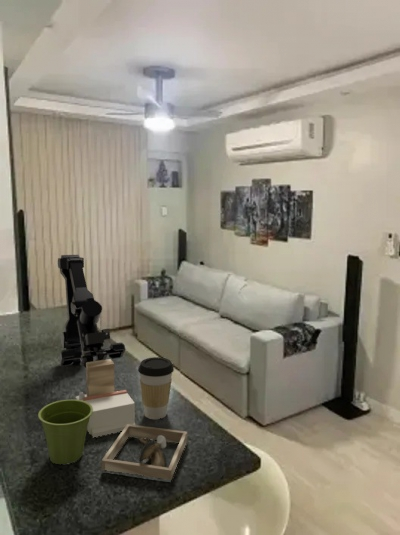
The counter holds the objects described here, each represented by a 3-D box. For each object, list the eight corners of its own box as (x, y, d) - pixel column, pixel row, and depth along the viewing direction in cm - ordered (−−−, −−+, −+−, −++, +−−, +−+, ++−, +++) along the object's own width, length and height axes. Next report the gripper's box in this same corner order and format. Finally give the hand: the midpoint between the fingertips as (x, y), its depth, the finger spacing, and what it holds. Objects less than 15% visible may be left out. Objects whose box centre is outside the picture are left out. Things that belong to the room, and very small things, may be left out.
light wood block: (86, 401, 121) (85, 361, 119) (110, 397, 124) (109, 358, 122) (89, 408, 117) (89, 367, 115) (114, 403, 120) (114, 363, 118)
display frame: (127, 435, 107) (127, 424, 106) (187, 443, 104) (187, 431, 104) (101, 472, 92) (101, 460, 91) (170, 483, 89) (171, 470, 88)
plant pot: (64, 479, 89) (62, 430, 88) (28, 460, 95) (26, 414, 94) (104, 452, 99) (103, 407, 97) (69, 437, 105) (68, 394, 104)
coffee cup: (178, 409, 121) (179, 359, 119) (164, 425, 112) (165, 372, 110) (147, 403, 124) (147, 354, 122) (131, 418, 115) (131, 366, 113)
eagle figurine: (128, 451, 98) (130, 468, 89) (144, 424, 99) (148, 438, 90) (156, 466, 99) (160, 484, 90) (172, 439, 100) (178, 454, 91)
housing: (73, 400, 125) (73, 380, 124) (113, 393, 130) (113, 373, 129) (91, 438, 105) (90, 414, 104) (137, 428, 110) (137, 405, 109)
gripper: (60, 323, 120) (67, 374, 112) (123, 316, 128) (135, 364, 120) (56, 341, 128) (63, 390, 120) (116, 334, 136) (126, 379, 128)
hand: (97, 380), depth 122 cm, fingers closed, pressing on light wood block
